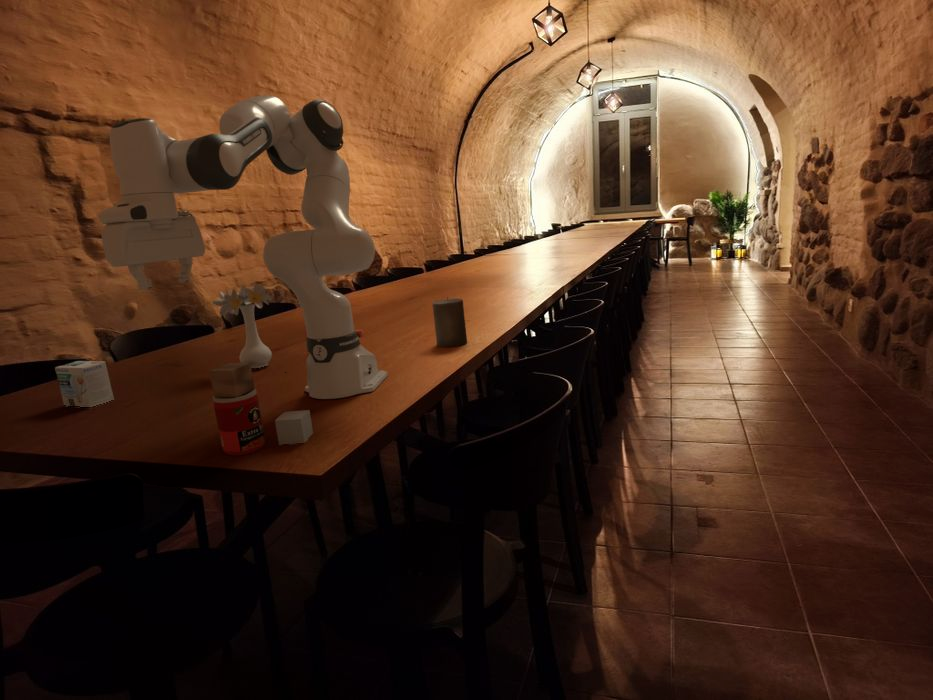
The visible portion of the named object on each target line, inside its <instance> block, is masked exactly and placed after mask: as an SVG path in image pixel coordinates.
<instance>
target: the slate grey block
mask: <svg viewBox="0 0 933 700" xmlns="http://www.w3.org/2000/svg"><path fill="white" fill-rule="evenodd" d="M310 411H311V410H310V409H307V410H306V409H303V410H292V411H284V412H283V413H282V414H280V415H279V416H278V417H277V418H276V419H275V420H274V424H275V429H276V435H277V440H278V445H279V446H283V445H282V444H289V445H297V444H296V443H305V442H306V443H307V442H308V441H309V439H310V438H311V437H312V436H313V435H314V430H313V424H312V418H311V412H310ZM312 434H313V435H312ZM311 435H312V436H311ZM310 436H311V437H310ZM309 437H310V438H309ZM308 438H309V439H308ZM294 443H295V444H294ZM306 443H305V444H306Z"/></svg>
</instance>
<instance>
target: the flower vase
mask: <svg viewBox="0 0 933 700" xmlns="http://www.w3.org/2000/svg"><path fill="white" fill-rule="evenodd" d="M219 297H220V299H213V301H212V303H213V304H214V305H215V306H217V307H220V309H219V315H220V316H222V317H223V316H225V315H226V314H227V313H229V314H231V315H235V316H239V309H240V311H241V314H242V316H243V321H244V327H245V328H244V329H245V335H246V339H245V344H244V346H243V348H242V350H241V351H240V354H239V361H240V363H250V365H251V368H259V369H262V368H261V367H263V368H265V367H264V366H266V367H267V366H269V362H270V360H271V359H272V356H273V353H272V351H271V349H270V348H269V347H268V346H267V345H266V344H264V343H263V342H262V339H261V338H260V336H259V333H258V328H257V323H256V319H255V307H257V308H258V309H262V308H263V307H264V304H263V302H264V303H265V304H266V305H270V304H269V301H273V297H271V295H270V294H269V293H266V287H265V286H264V285H261V284H260V283H258V284H257V283H253V289H252V290H251V289H250V288H248V287H247V286H246V285H241V287H240V290H239V292H237V290H236V288H233V289H232V292H231V294H230V290H229V288H227V289H226V292H225V293H224V292H223V291H220V292H219Z"/></svg>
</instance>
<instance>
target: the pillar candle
mask: <svg viewBox="0 0 933 700" xmlns="http://www.w3.org/2000/svg"><path fill="white" fill-rule="evenodd" d="M432 312H433V322H434V329H435V330H434V331H435V338H436V340H435V341H436V345H437V347H440V348H448V347H449V348H451V347H458V346H459V347H460V346H463V345H465V344H467V343H468V339H467V338H468V337H467V328H466V319H465V308H464V299H462V298H449V297H448V296H447V297H446V299H441V300H435V301H433V302H432Z"/></svg>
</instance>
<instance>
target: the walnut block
mask: <svg viewBox="0 0 933 700" xmlns="http://www.w3.org/2000/svg"><path fill="white" fill-rule="evenodd" d="M208 371H209V376H210V380H211V387H212V391H213V396H214V397H238V396H240V395H243V394H245V393H247V392H249V391H251V390H253V389H256V388H255V383H254V377H253V376H254V375H253V372H252V369H251V365H250V363H242V362H235V363H234V362H228V363H225V364H222V365H220V366H218V367H214V368H212V369H210V370H208Z"/></svg>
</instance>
